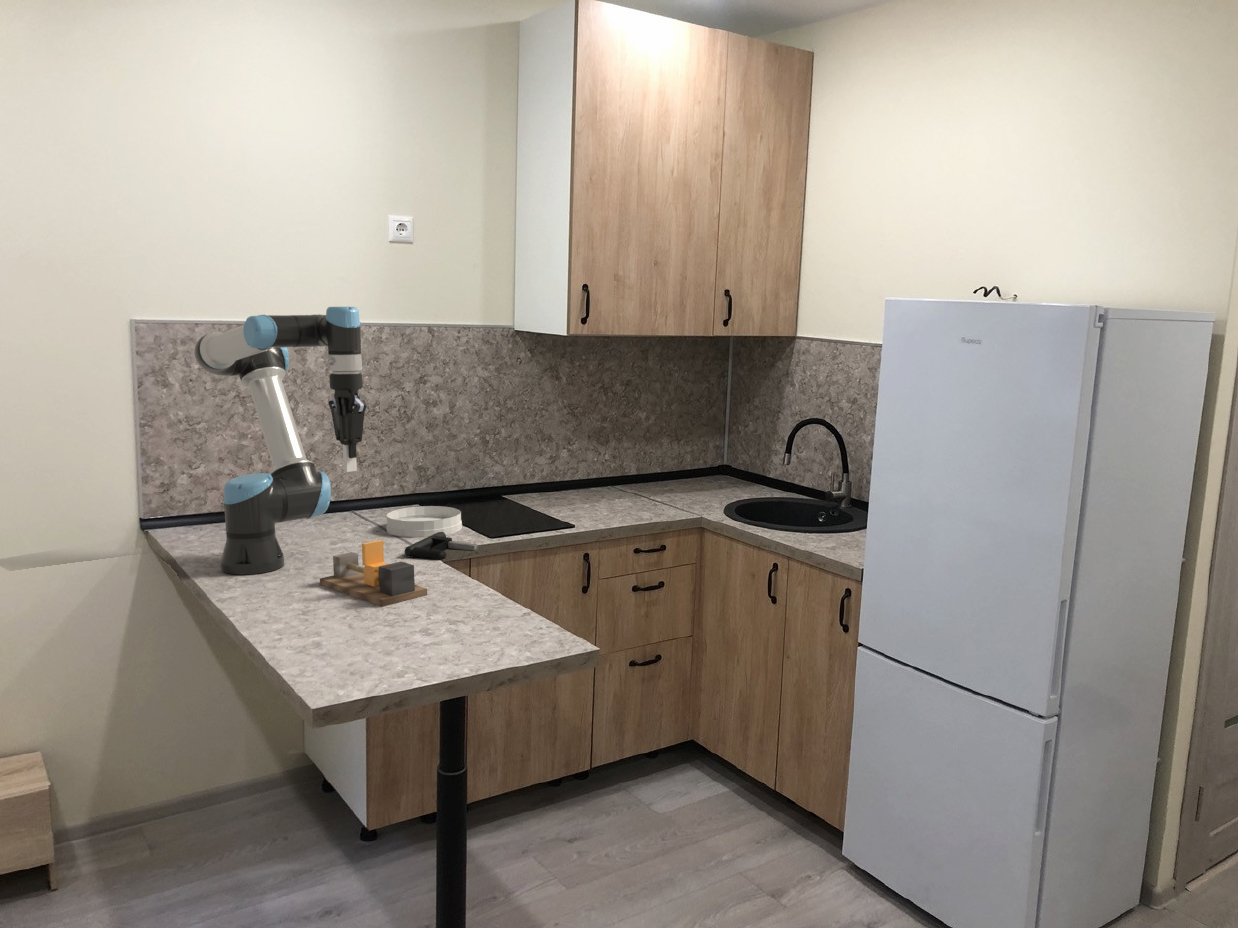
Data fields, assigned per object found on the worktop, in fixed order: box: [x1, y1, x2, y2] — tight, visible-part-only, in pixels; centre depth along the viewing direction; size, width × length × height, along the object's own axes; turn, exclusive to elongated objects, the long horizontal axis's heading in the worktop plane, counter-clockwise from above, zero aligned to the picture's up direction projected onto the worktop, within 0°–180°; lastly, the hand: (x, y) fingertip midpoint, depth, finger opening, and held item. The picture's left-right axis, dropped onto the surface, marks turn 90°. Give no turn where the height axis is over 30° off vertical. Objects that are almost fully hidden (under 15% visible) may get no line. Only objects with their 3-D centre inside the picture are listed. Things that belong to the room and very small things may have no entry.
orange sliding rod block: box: [361, 539, 388, 587], centre depth 226 cm, size 4×5×10 cm
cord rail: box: [319, 551, 428, 607], centre depth 228 cm, size 26×12×8 cm, turn 47°
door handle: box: [404, 532, 478, 561], centre depth 265 cm, size 3×20×16 cm
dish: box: [385, 505, 463, 538], centre depth 292 cm, size 22×22×5 cm
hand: (350, 471), depth 234 cm, fingers closed
